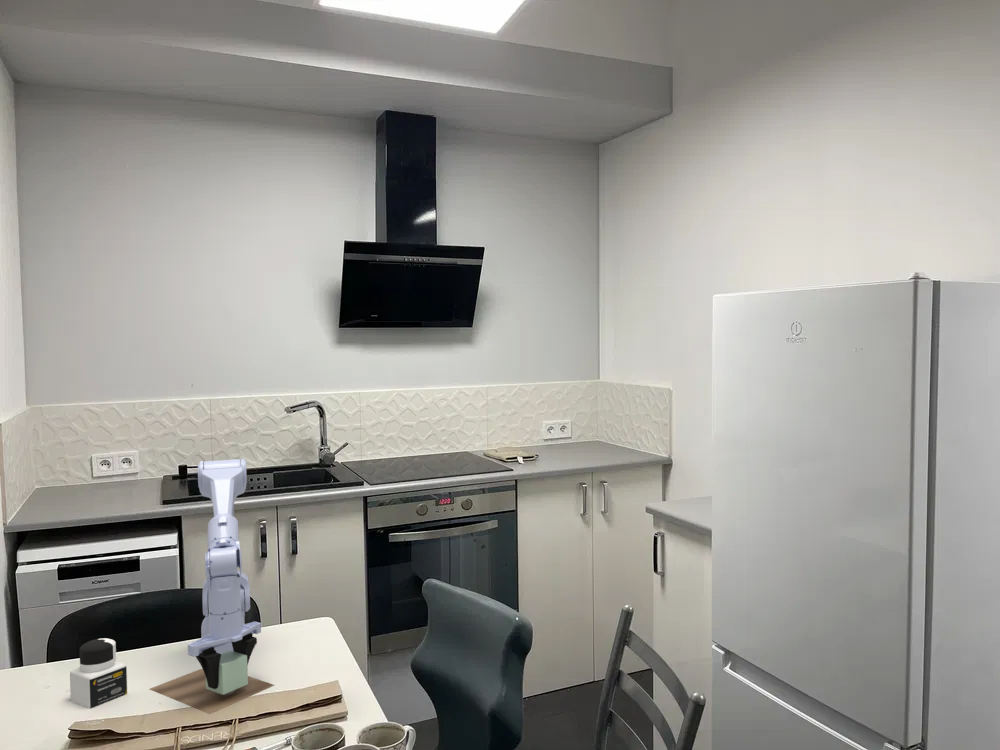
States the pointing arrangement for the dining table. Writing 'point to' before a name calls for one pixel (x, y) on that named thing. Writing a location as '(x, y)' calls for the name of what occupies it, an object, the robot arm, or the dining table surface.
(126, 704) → the dining table surface
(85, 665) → the medicine bottle
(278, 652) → the dining table surface
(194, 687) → the base board
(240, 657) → the mint green cube
